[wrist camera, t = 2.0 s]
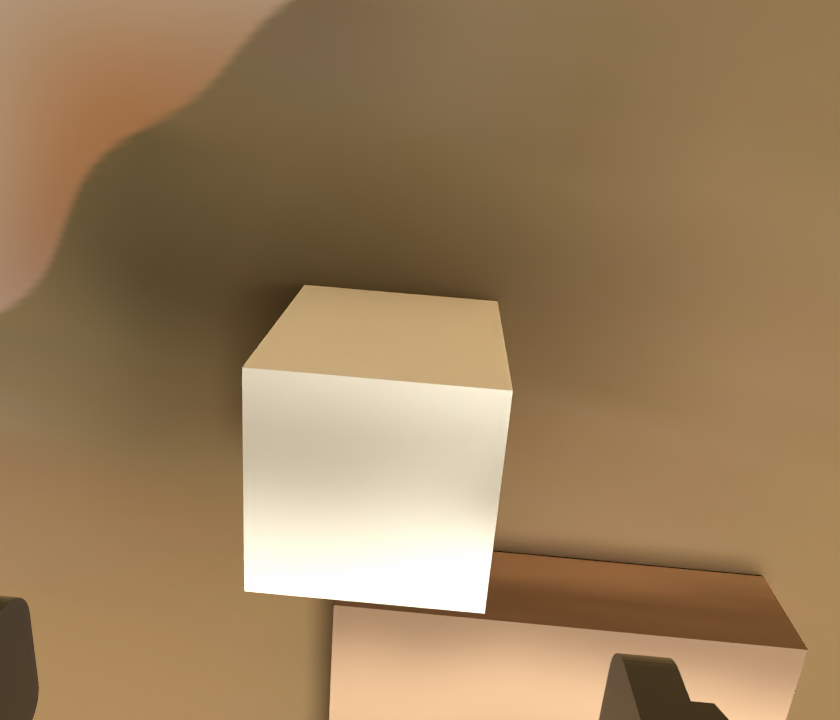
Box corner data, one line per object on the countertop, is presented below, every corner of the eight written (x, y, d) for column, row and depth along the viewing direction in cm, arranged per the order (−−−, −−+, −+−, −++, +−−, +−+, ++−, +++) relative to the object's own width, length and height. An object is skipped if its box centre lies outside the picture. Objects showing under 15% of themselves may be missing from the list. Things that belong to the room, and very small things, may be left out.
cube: (304, 284, 20) (242, 367, 14) (497, 300, 19) (512, 390, 14) (301, 456, 21) (244, 591, 16) (478, 471, 21) (484, 613, 16)
